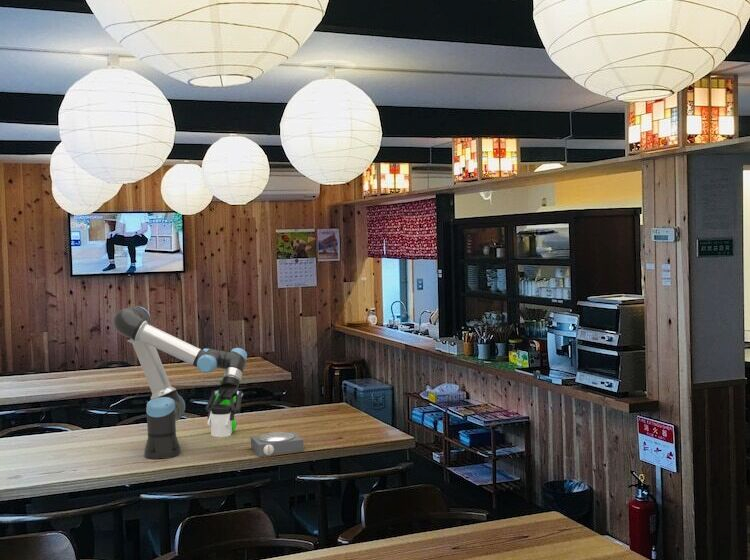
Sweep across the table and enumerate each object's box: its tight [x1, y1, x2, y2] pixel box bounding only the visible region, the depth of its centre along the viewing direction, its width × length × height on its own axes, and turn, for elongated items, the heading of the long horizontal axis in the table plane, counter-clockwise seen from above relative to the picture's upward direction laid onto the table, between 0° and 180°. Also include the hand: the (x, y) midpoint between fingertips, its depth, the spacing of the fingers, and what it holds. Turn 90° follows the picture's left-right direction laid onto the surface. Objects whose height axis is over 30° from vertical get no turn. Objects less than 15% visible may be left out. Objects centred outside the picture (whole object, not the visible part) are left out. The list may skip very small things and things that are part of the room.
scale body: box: [250, 431, 304, 458], centre depth 348 cm, size 19×17×5 cm
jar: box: [210, 405, 233, 438], centre depth 339 cm, size 9×8×12 cm
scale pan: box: [258, 431, 294, 443], centre depth 348 cm, size 15×15×1 cm
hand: (217, 426), depth 336 cm, fingers closed on jar, 7 cm apart
